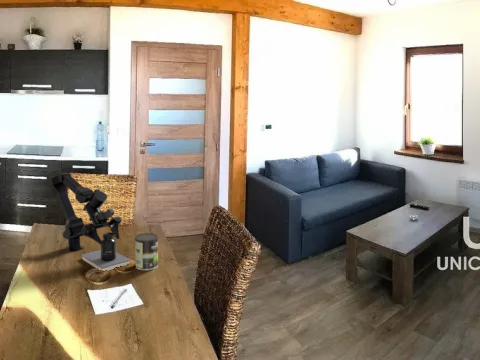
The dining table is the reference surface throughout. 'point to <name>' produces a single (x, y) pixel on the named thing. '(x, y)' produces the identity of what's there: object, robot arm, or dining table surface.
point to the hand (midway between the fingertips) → (110, 241)
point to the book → (97, 262)
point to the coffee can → (146, 251)
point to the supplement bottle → (108, 247)
